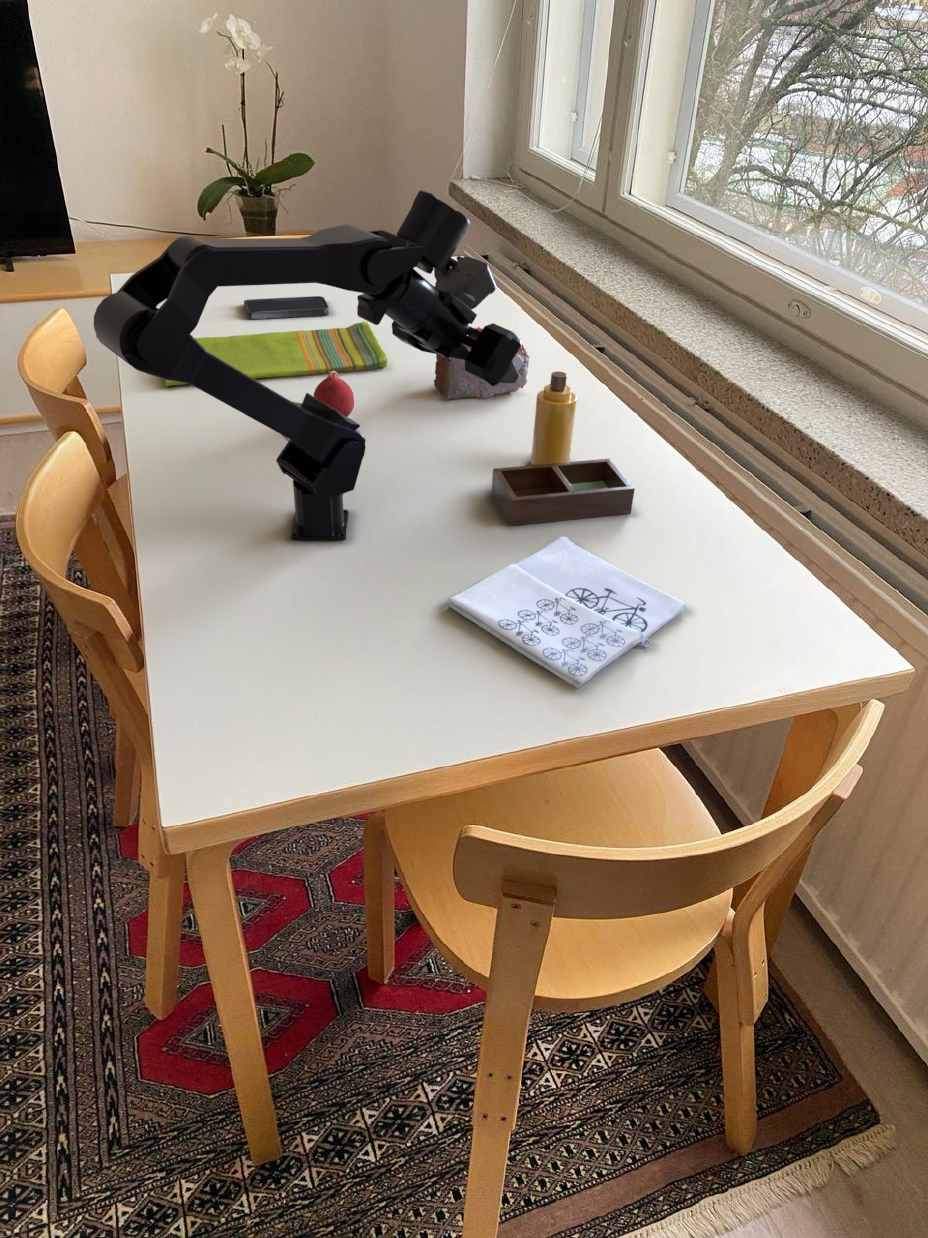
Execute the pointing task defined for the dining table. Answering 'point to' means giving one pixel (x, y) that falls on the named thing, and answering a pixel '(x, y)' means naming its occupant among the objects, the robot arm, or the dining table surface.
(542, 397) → the bottle
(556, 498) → the brown divided tray
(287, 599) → the dining table surface
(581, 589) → the folded bicycle print cloth
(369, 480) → the dining table surface
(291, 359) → the dish towel
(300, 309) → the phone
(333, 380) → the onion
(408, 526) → the dining table surface
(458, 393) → the red crystal topped stone
